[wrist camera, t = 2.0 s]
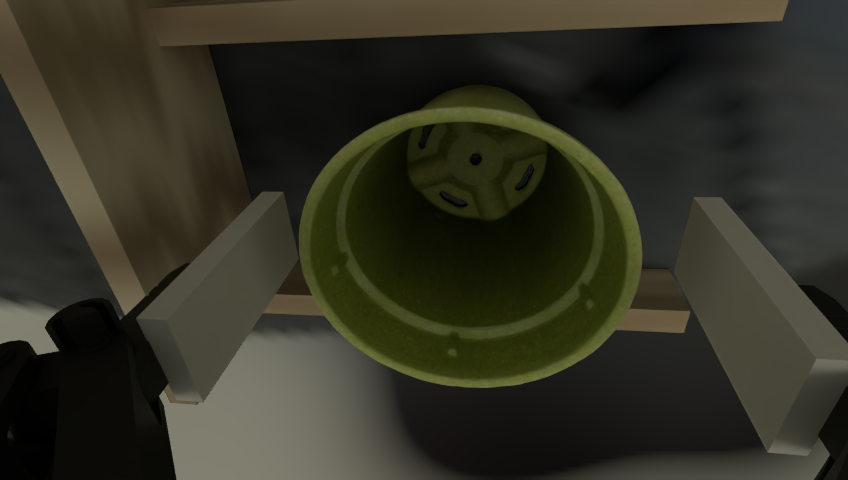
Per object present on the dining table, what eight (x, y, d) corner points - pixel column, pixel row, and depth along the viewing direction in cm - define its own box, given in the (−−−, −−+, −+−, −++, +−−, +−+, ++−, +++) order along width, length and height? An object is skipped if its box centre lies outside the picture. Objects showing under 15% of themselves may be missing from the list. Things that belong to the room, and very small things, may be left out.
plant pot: (524, 274, 23) (535, 425, 16) (345, 203, 22) (271, 328, 15) (636, 98, 18) (727, 201, 11) (409, 0, 17) (345, 40, 10)
